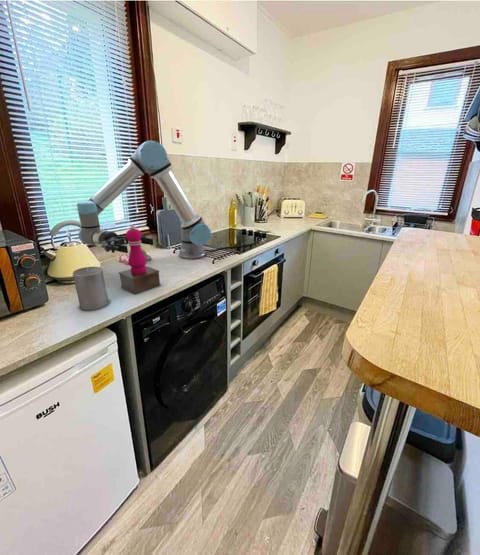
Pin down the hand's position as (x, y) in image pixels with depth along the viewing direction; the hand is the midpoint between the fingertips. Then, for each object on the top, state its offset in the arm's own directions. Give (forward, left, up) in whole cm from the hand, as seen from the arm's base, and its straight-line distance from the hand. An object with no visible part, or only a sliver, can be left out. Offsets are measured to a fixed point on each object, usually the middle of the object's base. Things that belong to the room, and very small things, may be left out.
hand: (140, 245), depth 112 cm
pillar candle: (+22, -1, -19) cm, 29 cm away
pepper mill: (+1, -3, -12) cm, 12 cm away
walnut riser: (+1, -3, -19) cm, 19 cm away
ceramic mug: (-20, -36, -19) cm, 46 cm away
